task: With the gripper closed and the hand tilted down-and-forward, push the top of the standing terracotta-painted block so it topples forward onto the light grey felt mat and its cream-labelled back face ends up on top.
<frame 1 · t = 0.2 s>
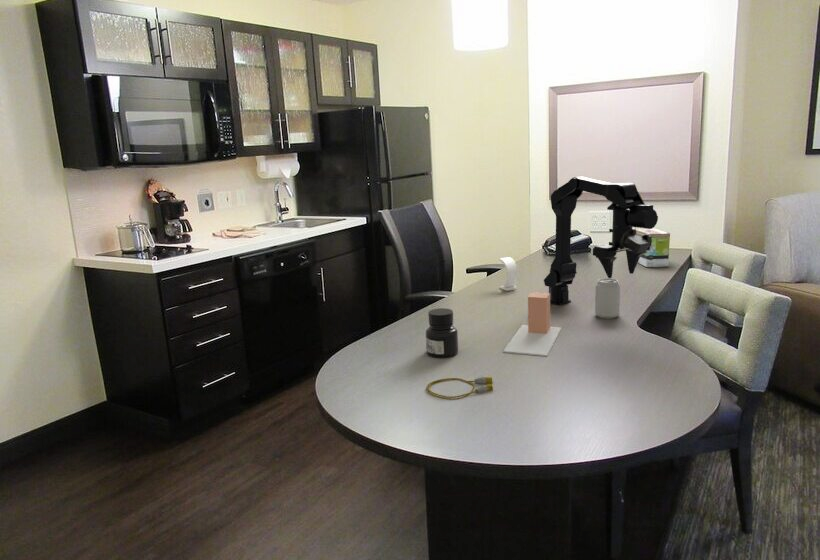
hand: (620, 275, 177), 14 cm above the table, tool pointing down, fingers open, 9 cm apart
ink bottle: (442, 353, 161), on the table
extension cord: (459, 391, 137), on the table
headphone stand: (509, 289, 226), on the table
can: (607, 316, 185), on the table
tea box: (650, 264, 255), on the table
block: (539, 330, 174), resting on mat
mat: (533, 339, 167), on the table
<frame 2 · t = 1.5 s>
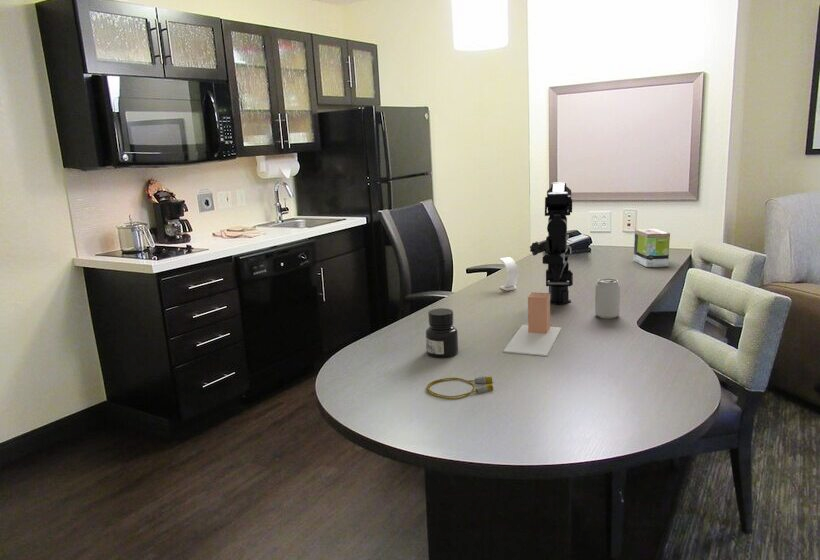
hand: (557, 280, 185), 12 cm above the table, tool pointing down, fingers open, 3 cm apart
nothing on the table moved.
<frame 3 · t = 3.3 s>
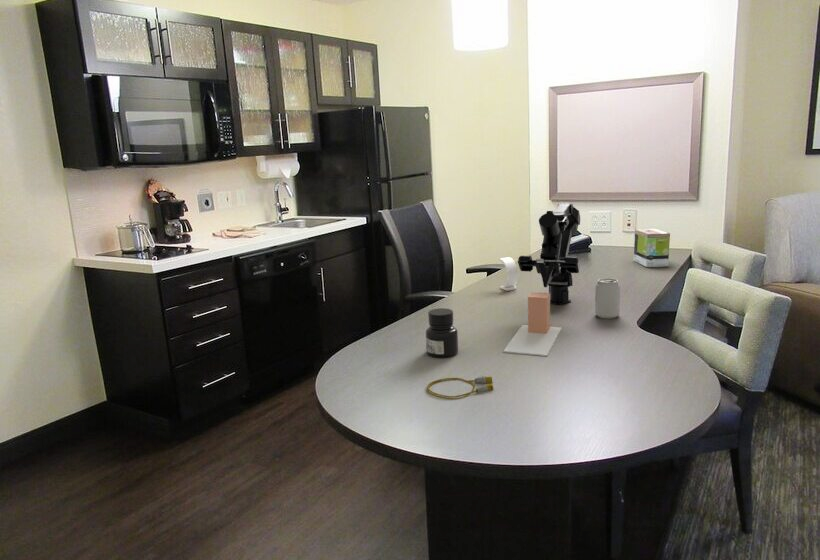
hand: (545, 286, 180), 12 cm above the table, tool tilted 45°, fingers closed
nothing on the table moved.
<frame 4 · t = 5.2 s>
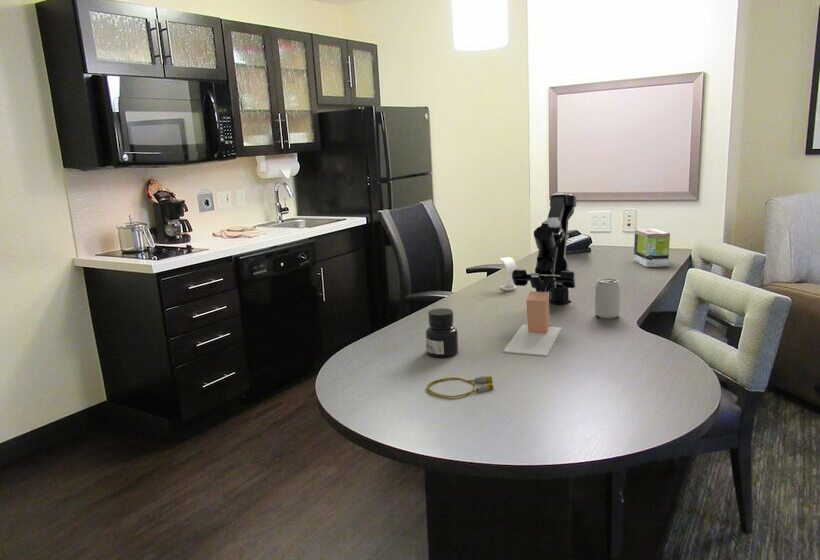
hand: (539, 302, 173), 9 cm above the table, tool tilted 45°, fingers closed
block: (539, 328, 174), point 1 cm above the table, tilted 13°, touching mat
everything else where it was.
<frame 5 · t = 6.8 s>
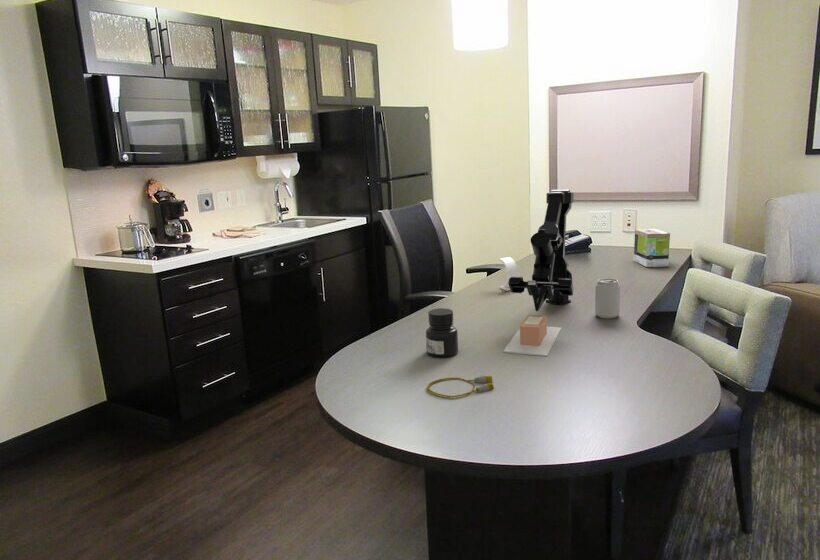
hand: (536, 310, 169), 8 cm above the table, tool tilted 45°, fingers closed
block: (537, 324, 171), point 3 cm above the table, tilted 90°, touching mat
everything else where it was.
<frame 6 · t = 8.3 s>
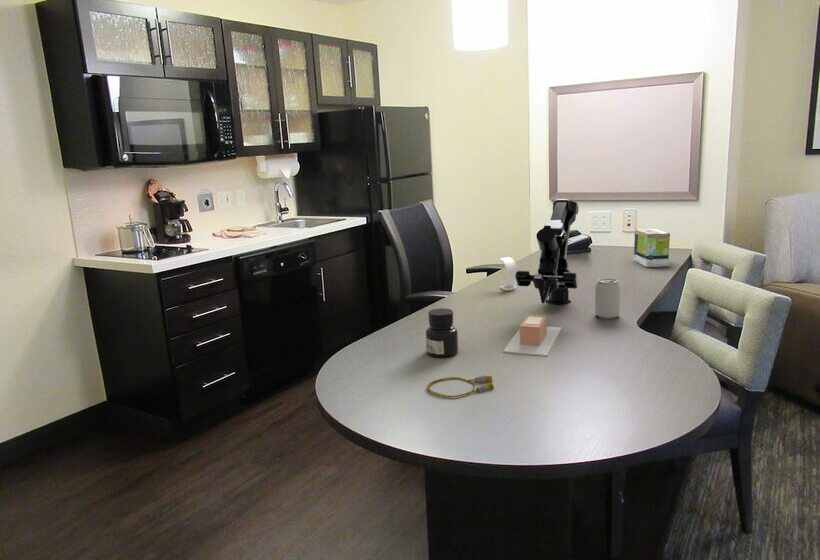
hand: (542, 302, 178), 7 cm above the table, tool tilted 45°, fingers closed
nothing on the table moved.
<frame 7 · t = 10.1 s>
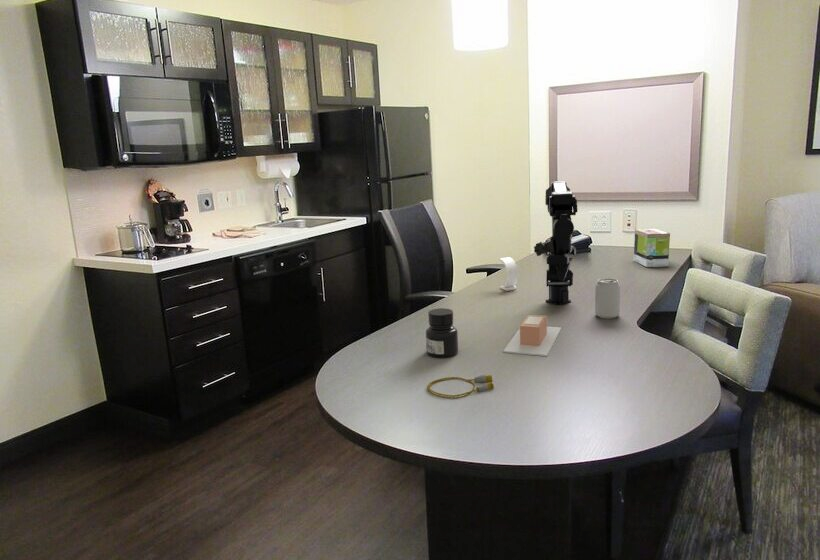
hand: (561, 281, 183), 12 cm above the table, tool pointing down, fingers closed
nothing on the table moved.
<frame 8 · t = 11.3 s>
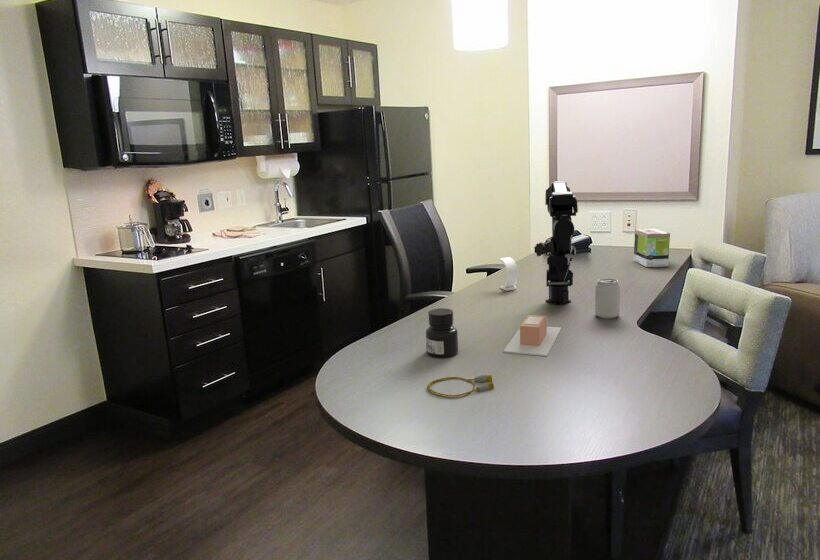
hand: (561, 281, 184), 12 cm above the table, tool pointing down, fingers closed
nothing on the table moved.
at the end: block tilted 90°; block inside the target area (5.6 cm from its centre), point 3.1 cm above the table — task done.
